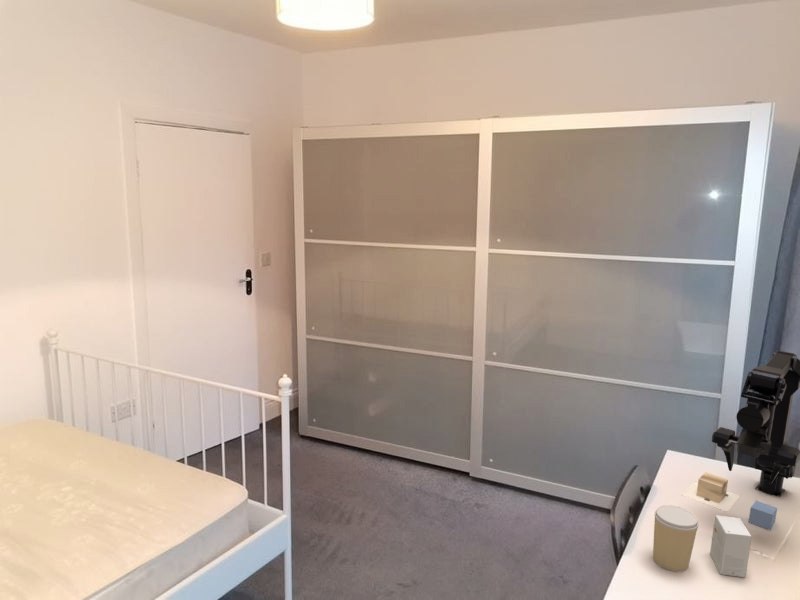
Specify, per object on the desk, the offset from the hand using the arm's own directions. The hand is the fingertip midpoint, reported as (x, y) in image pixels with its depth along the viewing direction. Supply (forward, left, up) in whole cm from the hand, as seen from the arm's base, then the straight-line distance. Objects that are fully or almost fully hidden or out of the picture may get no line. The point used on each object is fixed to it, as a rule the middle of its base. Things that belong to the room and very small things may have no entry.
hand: (750, 476), depth 154 cm
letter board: (-11, -11, -15) cm, 22 cm away
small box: (+20, +2, -15) cm, 25 cm away
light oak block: (-11, -11, -14) cm, 21 cm away
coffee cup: (+28, -8, -15) cm, 32 cm away
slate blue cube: (-6, +3, -15) cm, 16 cm away
